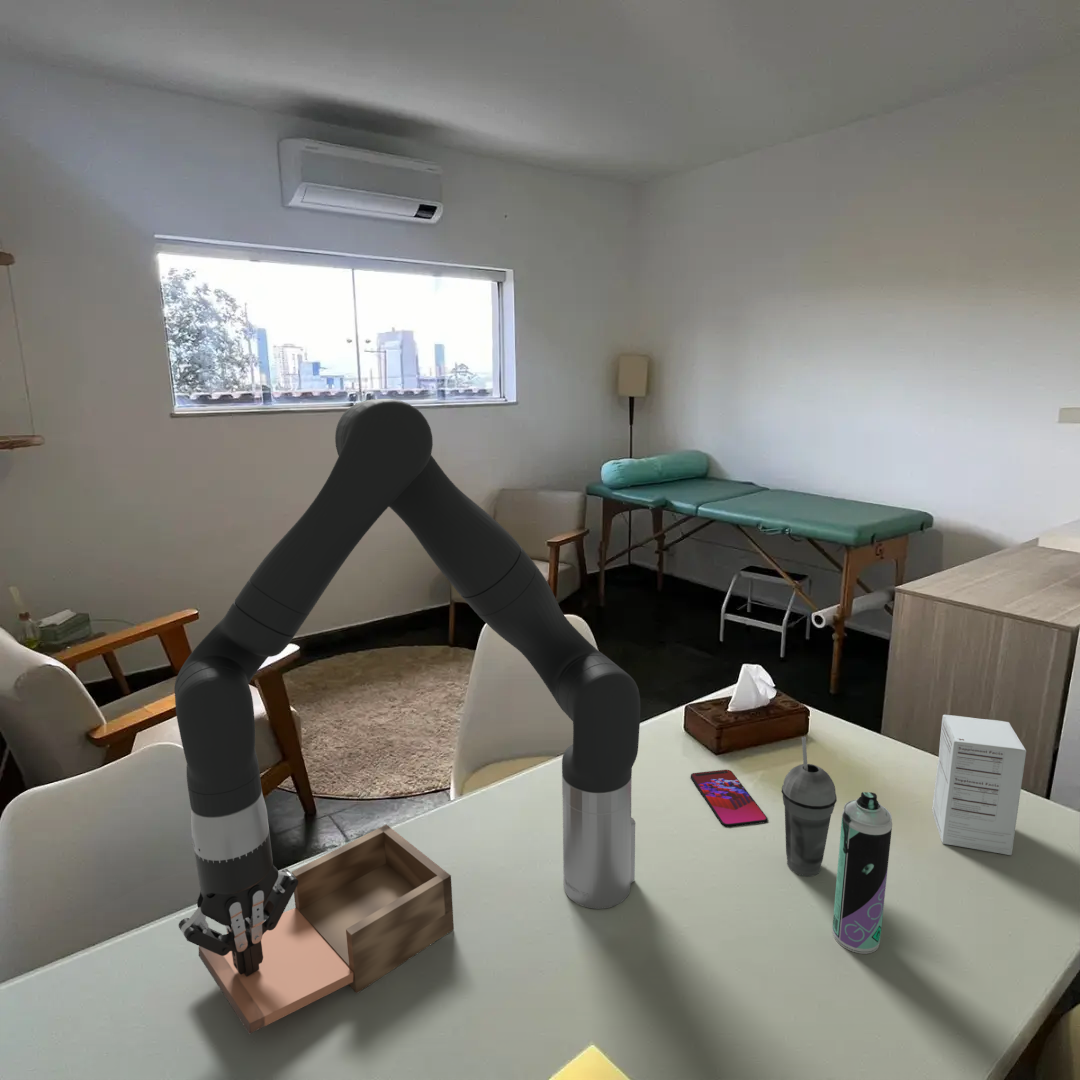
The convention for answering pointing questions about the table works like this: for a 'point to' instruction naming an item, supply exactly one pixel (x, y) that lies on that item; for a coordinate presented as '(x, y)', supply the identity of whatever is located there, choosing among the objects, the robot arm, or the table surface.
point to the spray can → (862, 874)
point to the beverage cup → (807, 815)
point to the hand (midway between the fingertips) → (249, 969)
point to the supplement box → (978, 783)
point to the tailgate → (280, 973)
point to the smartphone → (728, 798)
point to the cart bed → (375, 902)
